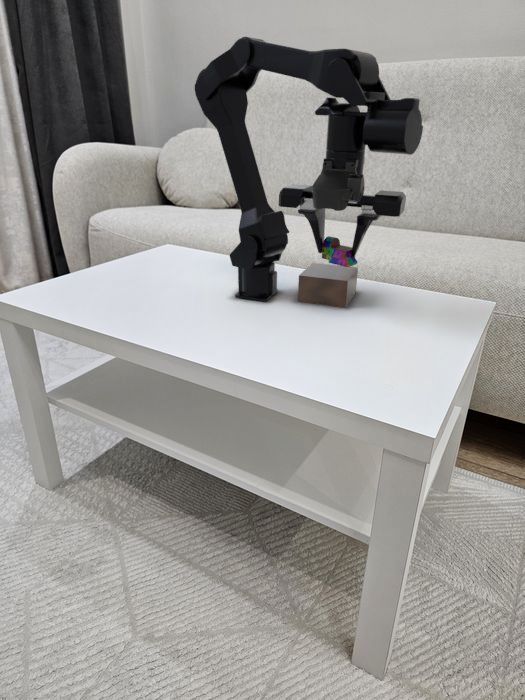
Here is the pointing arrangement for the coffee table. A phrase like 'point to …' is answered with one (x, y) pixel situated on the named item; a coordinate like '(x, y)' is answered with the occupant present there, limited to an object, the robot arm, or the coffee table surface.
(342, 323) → the coffee table surface
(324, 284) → the walnut block
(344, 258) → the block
